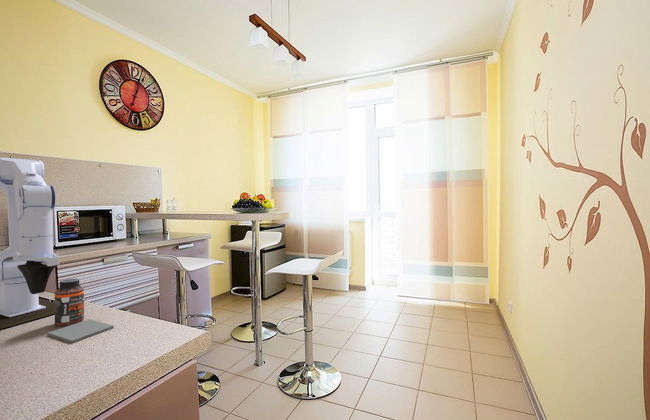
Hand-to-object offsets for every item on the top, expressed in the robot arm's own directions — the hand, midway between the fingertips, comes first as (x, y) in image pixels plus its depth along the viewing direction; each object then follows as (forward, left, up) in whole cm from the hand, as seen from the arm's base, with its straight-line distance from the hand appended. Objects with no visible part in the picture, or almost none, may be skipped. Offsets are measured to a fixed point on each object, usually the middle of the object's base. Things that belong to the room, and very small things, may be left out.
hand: (37, 292), depth 71 cm
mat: (+7, +5, -10) cm, 14 cm away
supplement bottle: (-2, +7, -10) cm, 13 cm away
